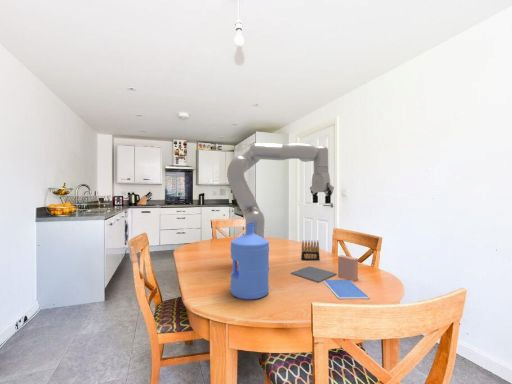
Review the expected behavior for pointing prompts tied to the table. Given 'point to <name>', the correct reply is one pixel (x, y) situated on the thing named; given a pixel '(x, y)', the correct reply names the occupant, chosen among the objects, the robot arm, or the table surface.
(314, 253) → the ammunition clip
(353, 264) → the brown rectangular block
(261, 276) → the water jug
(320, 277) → the mat
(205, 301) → the table surface
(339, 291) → the blue notebook
